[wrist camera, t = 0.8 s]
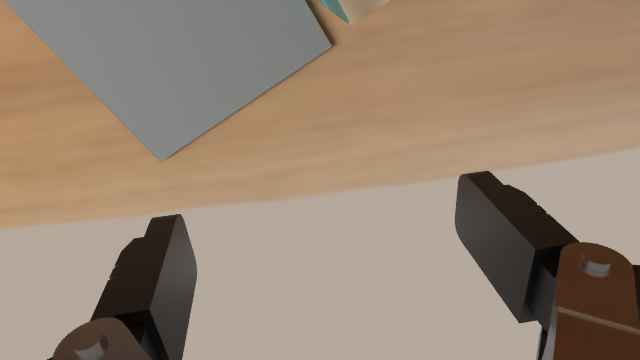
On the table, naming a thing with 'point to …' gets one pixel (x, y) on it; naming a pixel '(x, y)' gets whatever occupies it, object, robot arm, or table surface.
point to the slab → (353, 8)
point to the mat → (176, 56)
